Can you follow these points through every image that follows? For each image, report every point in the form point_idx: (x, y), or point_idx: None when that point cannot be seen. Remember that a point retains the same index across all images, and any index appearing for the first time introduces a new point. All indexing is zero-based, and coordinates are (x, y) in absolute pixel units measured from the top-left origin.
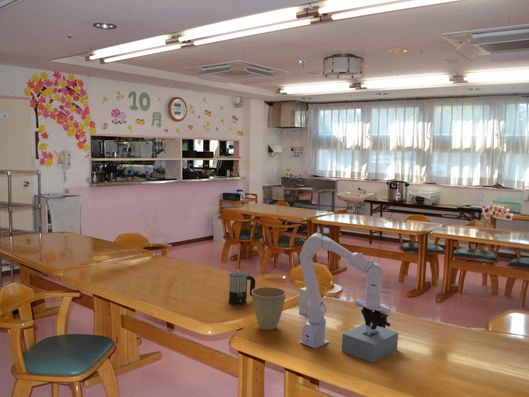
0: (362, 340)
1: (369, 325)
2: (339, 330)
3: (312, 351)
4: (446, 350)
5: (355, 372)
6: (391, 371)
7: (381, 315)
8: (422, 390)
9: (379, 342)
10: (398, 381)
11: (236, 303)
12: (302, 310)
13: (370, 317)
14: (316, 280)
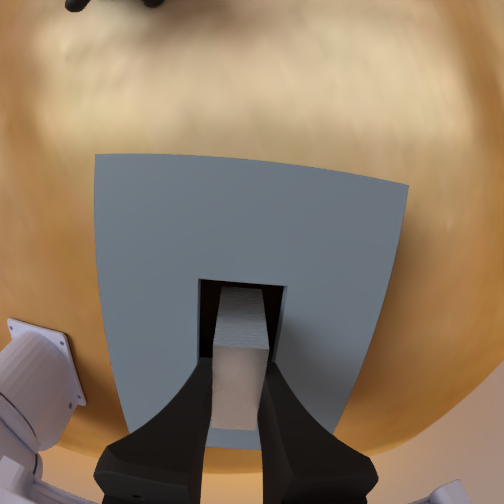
0: (254, 449)
1: (231, 414)
2: (10, 167)
3: (98, 418)
4: (491, 58)
5: None
6: (381, 389)
7: (347, 447)
8: (454, 402)
9: (339, 417)
10: (404, 414)
11: None
12: None
13: (202, 422)
14: None
